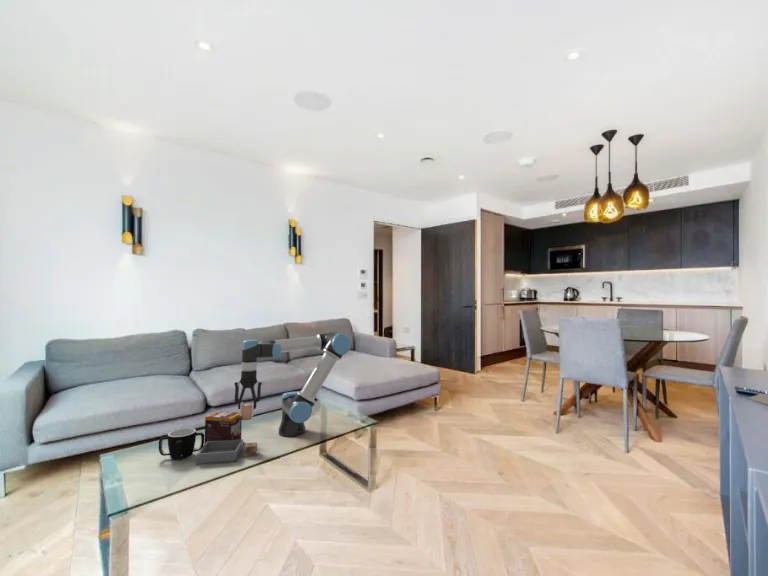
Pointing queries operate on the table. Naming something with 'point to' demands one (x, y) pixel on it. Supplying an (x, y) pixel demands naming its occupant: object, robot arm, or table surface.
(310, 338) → the robot arm
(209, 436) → the supplement box
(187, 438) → the mug
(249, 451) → the walnut cube
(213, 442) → the tray
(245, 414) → the terracotta canister
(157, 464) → the table surface
